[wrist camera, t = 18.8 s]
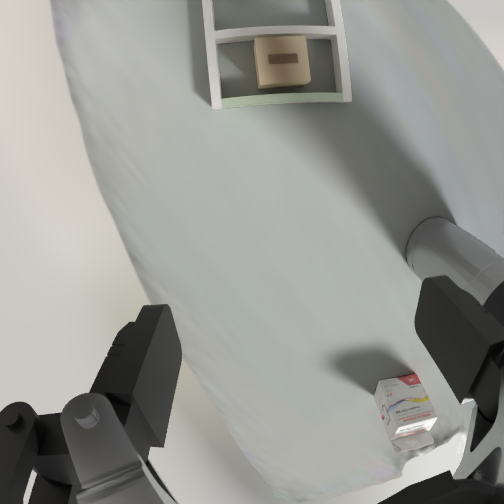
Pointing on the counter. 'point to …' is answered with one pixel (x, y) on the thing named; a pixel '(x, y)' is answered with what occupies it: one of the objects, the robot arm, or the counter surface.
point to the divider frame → (250, 33)
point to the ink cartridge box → (405, 412)
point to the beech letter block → (281, 61)
